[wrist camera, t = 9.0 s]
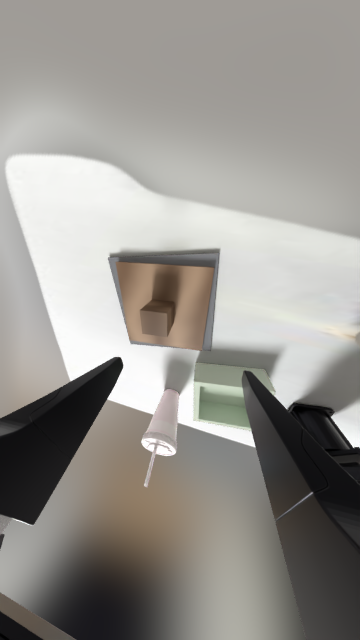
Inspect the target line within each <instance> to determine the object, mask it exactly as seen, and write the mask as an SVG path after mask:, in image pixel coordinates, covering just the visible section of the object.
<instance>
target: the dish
mask: <svg viewBox="0 0 360 640" xmlns="http://www.w3.org/2000/svg"><path fill="white" fill-rule="evenodd" d="M244 370H247V371H251V372H252V373H253V374H254V375H255V376H256V377H257V378H258V379H259V380H260V381H261V382H262V384H263V385H264V386H265V387H266V388H267V389H268V390H269V391H270V392H271V393H272V394H273V395H275V393H276V391H275V389H274V387H273V385H272V383H271V381H270V379H269V377H268V375H267V373H266V371H265V369H256V368H246V367H237V366H227V365H217V364H208V363H198V362H196V365H195V376H194V416H193V421H199V422H204V423H210V424H216V425H221V426H227V427H232V428H238V429H243V430H249V431H251V427H250V423H249V419H248V415H247V412H246V407H245V401H244V395H243V388H242V375H243V371H244Z"/></svg>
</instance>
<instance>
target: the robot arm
mask: <svg viewBox="0 0 360 640" xmlns="http://www.w3.org/2000/svg"><path fill="white" fill-rule="evenodd" d="M122 369H123V362H122V359H121V358H120V357H114V358H112V359H110V360H109V361H107V362H105V363H103V364H102V365H100V366H98V367H96V368H94V369H93V370H91V371H89V372H87V373H85V374H84V375H82V376H80V377H78V378H77V379H75V380H73V381H71V382H69V383H68V384H66V385H64V386H63V387H60V388H59V389H57V390H55V391H53V392H52V393H50V394H48V395H46V396H44V397H42V398H40V399H38V400H36V401H34V402H33V403H30V404H28V405H26V406H24V407H22V408H21V409H18V410H16V411H15V412H12V413H11V414H9V415H7V416H5V417H2V418H0V548H1V545H2V541H3V538H4V534H2V532H3V531H4V529H5V528H6V527H7V525H8V524H9V523H10V521H11V520H12V519H15V520H18V521H21V522H23V523H27V524H29V525H32V526H33V525H34V523H35V522H36V520H37V519H38V517H39V515H40V513H41V512H42V510H43V508H44V507H45V505H46V503H47V501H48V500H49V498H50V496H51V494H52V493H53V491H54V489H55V488H56V486H57V484H58V482H59V481H60V479H61V477H62V476H63V474H64V472H65V470H66V469H67V467H68V465H69V464H70V462H71V460H72V458H73V457H74V455H75V453H76V451H77V450H78V448H79V446H80V445H81V443H82V441H83V439H84V438H85V436H86V434H87V432H88V431H89V429H90V427H91V426H92V424H93V422H94V421H95V419H96V417H97V415H98V414H99V412H100V410H101V408H102V407H103V405H104V403H105V402H106V400H107V398H108V396H109V395H110V393H111V391H112V390H113V388H114V386H115V384H116V382H117V380H118V377H119V375H120V373H121V371H122ZM242 388H243V395H244V401H245V407H246V412H247V415H248V419H249V423H250V427H251V431H252V434H253V438H254V442H255V446H256V450H257V454H258V457H259V461H260V465H261V469H262V473H263V476H264V480H265V484H266V488H267V492H268V495H269V499H270V503H271V507H272V511H273V515H274V518H275V521H276V526H277V530H278V534H279V538H280V541H281V545H282V549H283V553H284V557H285V561H286V565H287V569H288V572H289V576H290V580H291V584H292V588H293V591H294V595H295V599H296V603H297V606H298V610H299V614H300V618H301V622H302V626H303V630H304V633H305V637H306V640H360V448H359V447H354V448H353V447H352V445H351V444H350V443H349V441H348V440H347V439H346V437H345V436H344V434H343V433H342V432H341V430H340V429H339V428H338V426H337V425H336V424H335V422H334V421H333V420H332V418H331V416H332V415H333V414H334V411H333V409H331V408H323V407H316V406H309V405H302V404H293V405H292V406H291V408H290V410H289V411H287V409H286V408H285V407H284V406H283V405H282V404H281V403H280V402H279V401H278V400H277V399H276V398H275V397H274V395H273V394H272V393H271V392H270V391H269V390H268V389H267V388H266V387H265V386H264V385H263V384H262V382H261V381H260V380H259V379H258V378H257V377H256V376H255V375H254V374H253V373H252V372H251V371H247V370H244V371H243V375H242ZM0 640H76V639H74V638H72V637H71V636H69V635H68V634H66V633H64V632H63V631H61V630H60V629H58V628H56V627H55V626H53V625H52V624H50V623H48V622H47V621H45V620H44V619H42V618H40V617H39V616H37V615H35V614H34V613H32V612H31V611H29V610H28V609H26V608H24V607H23V606H21V605H19V604H18V603H16V602H15V601H13V600H11V599H10V598H8V597H6V596H5V595H3V594H2V593H0Z"/></svg>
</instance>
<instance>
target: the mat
mask: <svg viewBox="0 0 360 640" xmlns="http://www.w3.org/2000/svg"><path fill="white" fill-rule="evenodd" d="M218 259H219V253H207V254H183V255H159V256H135V257H110V258H108V260H109V264H110V268H111V272H112V275H113V279H114V283H115V287H116V290H117V294H118V298H119V302H120V305H121V309H122V313H123V317H124V320H125V324H126V318H125V313H124V307H123V302H122V296H121V290H120V285H119V279H118V274H117V268H116V263H115V262H118V261H120V262H136V263H153V264H170V265H186V266H203V267H214V273H213V279H212V286H211V293H210V299H209V306H208V312H207V319H206V326H205V332H204V339H203V345H202V350H208V351H211V339H212V328H213V316H214V305H215V294H216V282H217V271H218ZM126 328H127V324H126ZM127 332H128V329H127ZM128 336H129V335H128ZM130 343H131V344H138V345H150V346H161V347H172V346H165V345H159V344H152V343H145V342H139V341H132V340H130ZM173 348H179V347H173ZM184 349H186V348H184Z"/></svg>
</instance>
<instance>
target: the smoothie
mask: <svg viewBox="0 0 360 640" xmlns="http://www.w3.org/2000/svg"><path fill="white" fill-rule="evenodd" d="M178 405H179V394H178V392H177V391H175V390H173V389H166V390H165V391H164V393H163V395H162V398H161V400H160V402H159V404H158V407H157V409H156V411H155V413H154V416H153V418H152V420H151V422H150V425H149V427H148V429H147V432H145V433H144V434H143V438H142V441H141V442H142V445H143V446H144V447H145V448H146V449H148V450H149V451H151V452H153V454H152V457H151V461H150V465H149V468H148V472H147V476H146V479H145V484H144V486H145V487H147V486H148V483H149V479H150V474H151V470H152V467H153V463H154V459H155V455H156V454H160V455H165V456H170V455H174V454H175V453H176V449H177V442H176V435H177V420H178Z"/></svg>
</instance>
